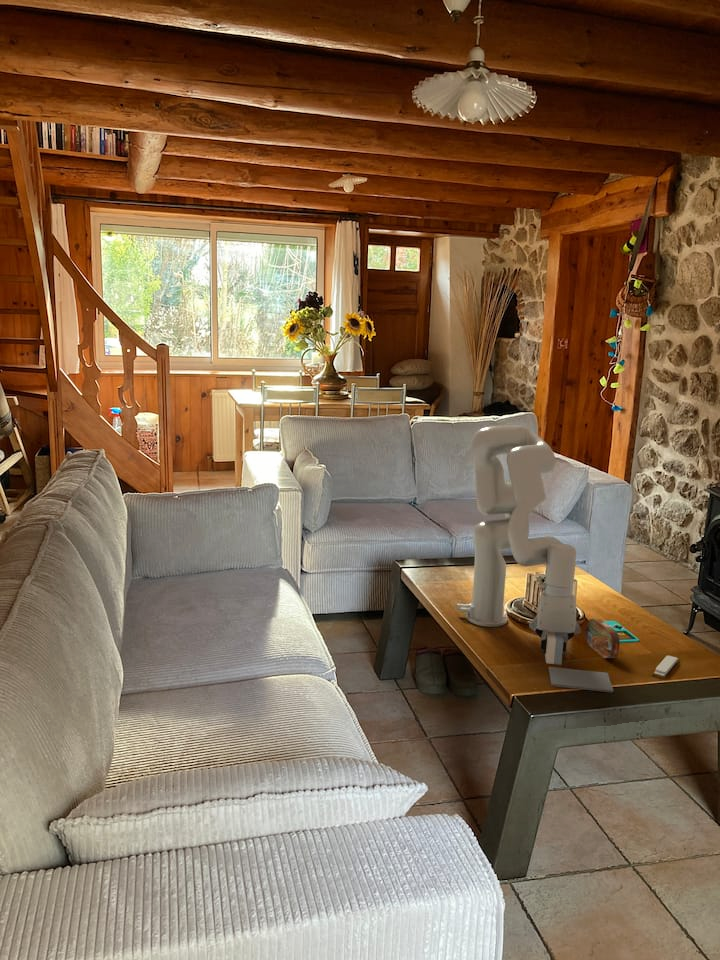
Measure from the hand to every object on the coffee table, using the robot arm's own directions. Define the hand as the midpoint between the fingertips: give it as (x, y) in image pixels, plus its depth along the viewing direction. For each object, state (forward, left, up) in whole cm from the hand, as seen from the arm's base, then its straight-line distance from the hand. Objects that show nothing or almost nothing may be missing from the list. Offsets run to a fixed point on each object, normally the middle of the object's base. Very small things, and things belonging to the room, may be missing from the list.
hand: (552, 652), depth 207 cm
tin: (+14, +7, -2) cm, 16 cm away
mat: (+6, -13, -1) cm, 14 cm away
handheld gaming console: (+20, +23, -2) cm, 31 cm away
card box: (0, 0, -1) cm, 1 cm away
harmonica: (+30, 0, -2) cm, 30 cm away
